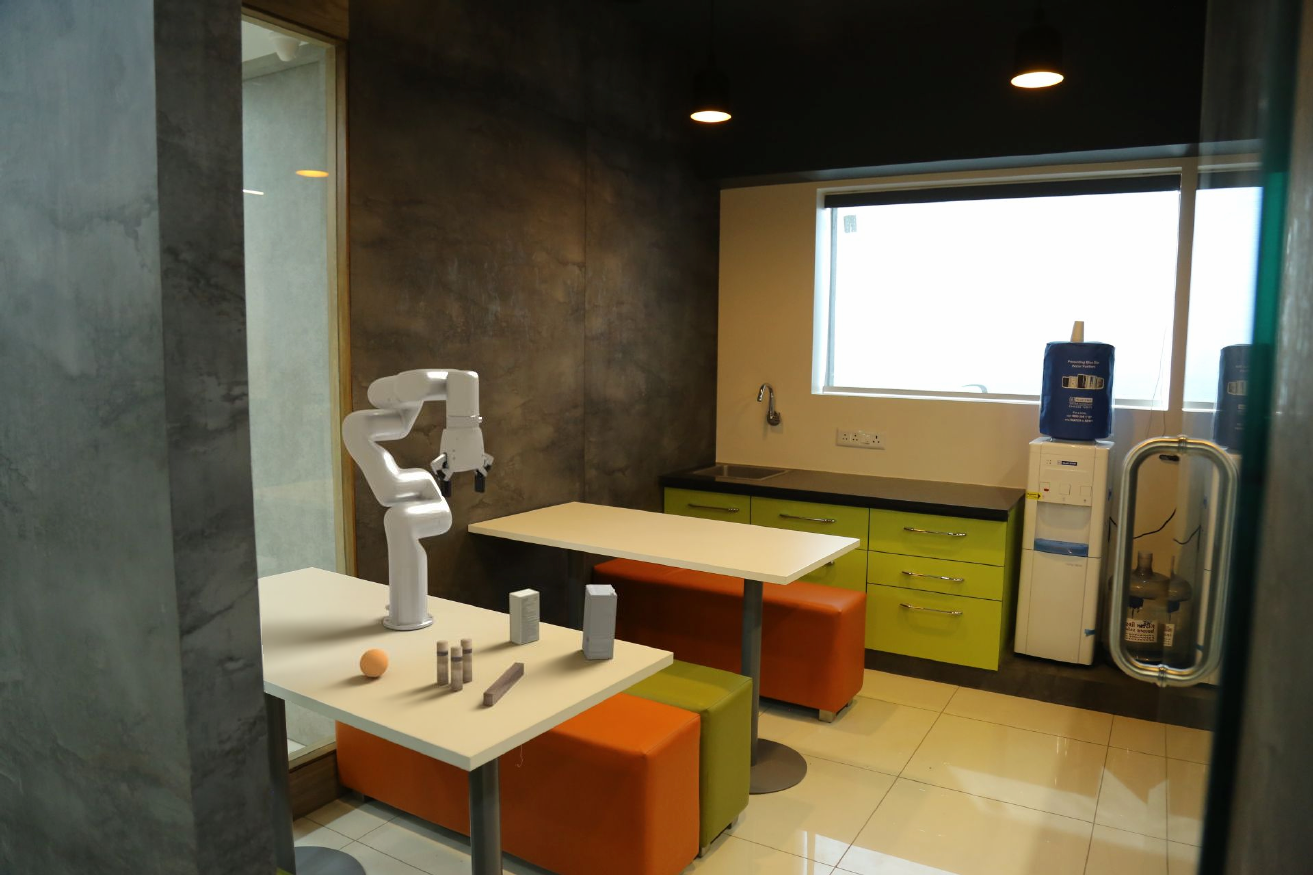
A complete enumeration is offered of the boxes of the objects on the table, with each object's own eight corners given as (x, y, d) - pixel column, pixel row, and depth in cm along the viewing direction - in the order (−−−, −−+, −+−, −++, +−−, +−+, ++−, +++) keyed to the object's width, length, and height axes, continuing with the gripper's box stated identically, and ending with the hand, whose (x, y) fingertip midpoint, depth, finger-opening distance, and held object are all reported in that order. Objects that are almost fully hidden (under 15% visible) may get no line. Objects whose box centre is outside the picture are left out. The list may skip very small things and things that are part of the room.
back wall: (483, 704, 177) (483, 692, 176) (515, 673, 194) (515, 662, 194) (492, 705, 176) (492, 693, 176) (523, 673, 194) (523, 662, 194)
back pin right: (448, 689, 185) (448, 647, 184) (458, 685, 186) (457, 644, 186) (455, 692, 183) (455, 650, 182) (465, 688, 185) (464, 647, 184)
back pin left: (458, 680, 189) (458, 639, 189) (467, 677, 191) (467, 637, 190) (465, 683, 188) (465, 642, 187) (474, 680, 190) (474, 639, 189)
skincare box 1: (529, 635, 220) (529, 588, 219) (540, 639, 217) (540, 591, 216) (508, 641, 216) (508, 592, 214) (519, 645, 212) (519, 596, 211)
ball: (354, 676, 191) (354, 649, 190) (379, 669, 195) (378, 643, 195) (369, 683, 187) (368, 656, 186) (394, 676, 191) (393, 649, 191)
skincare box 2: (581, 648, 211) (581, 584, 209) (610, 646, 212) (611, 582, 211) (586, 660, 203) (587, 593, 201) (617, 658, 204) (617, 592, 203)
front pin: (434, 682, 188) (434, 642, 187) (444, 679, 190) (443, 639, 189) (441, 685, 186) (440, 644, 185) (450, 682, 188) (450, 641, 187)
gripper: (482, 420, 216) (482, 488, 218) (422, 423, 203) (422, 496, 205) (501, 422, 211) (502, 492, 213) (441, 426, 198) (441, 500, 200)
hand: (463, 494), depth 209 cm, fingers open, 9 cm apart
